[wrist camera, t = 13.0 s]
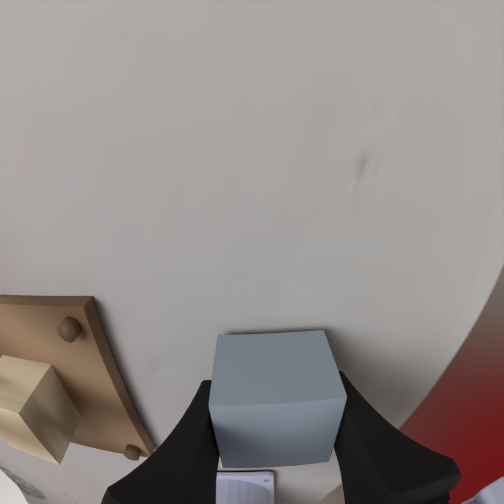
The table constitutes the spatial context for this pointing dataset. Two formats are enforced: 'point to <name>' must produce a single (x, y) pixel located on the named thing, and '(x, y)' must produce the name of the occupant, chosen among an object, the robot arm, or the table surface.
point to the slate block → (275, 399)
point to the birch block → (35, 409)
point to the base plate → (76, 366)
